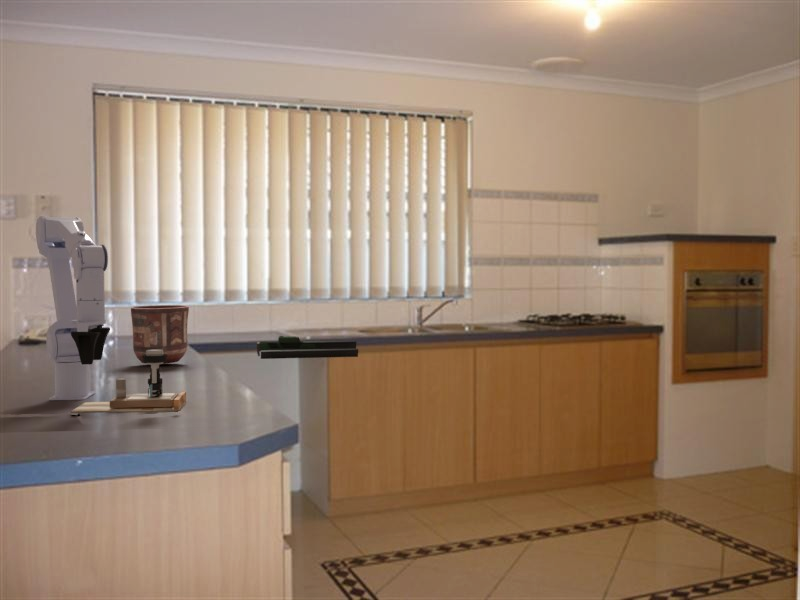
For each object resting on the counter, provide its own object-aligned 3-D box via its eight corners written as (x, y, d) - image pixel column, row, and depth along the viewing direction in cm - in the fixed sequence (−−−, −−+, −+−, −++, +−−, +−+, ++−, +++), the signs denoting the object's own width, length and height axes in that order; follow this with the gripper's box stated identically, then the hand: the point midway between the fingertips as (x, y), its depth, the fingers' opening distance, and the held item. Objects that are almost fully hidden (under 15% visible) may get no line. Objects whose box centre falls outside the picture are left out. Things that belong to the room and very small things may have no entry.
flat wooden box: (85, 406, 176) (85, 393, 176) (186, 404, 179) (186, 391, 179) (70, 416, 165) (70, 401, 165) (178, 413, 168) (178, 399, 168)
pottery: (172, 365, 246) (171, 308, 245) (121, 364, 249) (120, 307, 249) (198, 359, 263) (197, 305, 262) (150, 357, 267) (149, 304, 266)
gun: (361, 363, 270) (362, 344, 266) (257, 366, 263) (257, 346, 259) (358, 353, 275) (360, 334, 272) (256, 355, 269) (256, 335, 265)
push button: (165, 398, 170) (165, 352, 169) (140, 399, 169) (139, 352, 168) (169, 393, 176) (168, 348, 176) (144, 394, 175) (143, 349, 175)
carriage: (118, 401, 176) (118, 376, 175) (178, 400, 177) (178, 375, 177) (109, 407, 168) (109, 382, 167) (172, 406, 169) (172, 381, 169)
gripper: (80, 298, 179) (81, 358, 180) (61, 301, 165) (62, 366, 165) (112, 298, 180) (113, 357, 181) (96, 301, 166) (97, 366, 166)
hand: (91, 362), depth 173 cm, fingers open, 7 cm apart
